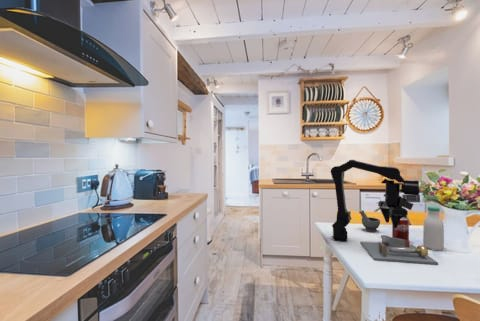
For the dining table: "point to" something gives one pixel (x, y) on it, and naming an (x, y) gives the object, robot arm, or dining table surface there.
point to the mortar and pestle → (369, 222)
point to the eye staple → (383, 249)
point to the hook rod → (409, 250)
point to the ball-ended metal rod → (394, 241)
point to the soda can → (401, 229)
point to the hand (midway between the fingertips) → (391, 225)
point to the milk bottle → (433, 230)
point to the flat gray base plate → (396, 254)
